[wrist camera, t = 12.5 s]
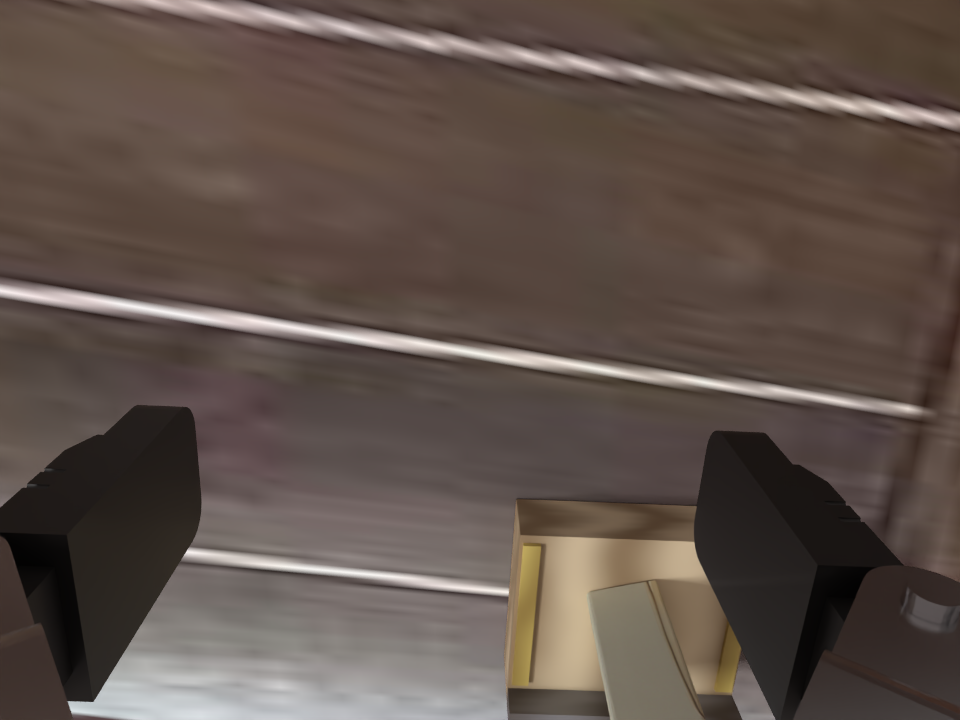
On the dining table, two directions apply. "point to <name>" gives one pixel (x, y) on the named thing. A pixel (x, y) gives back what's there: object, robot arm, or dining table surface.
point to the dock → (595, 566)
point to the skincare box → (641, 655)
